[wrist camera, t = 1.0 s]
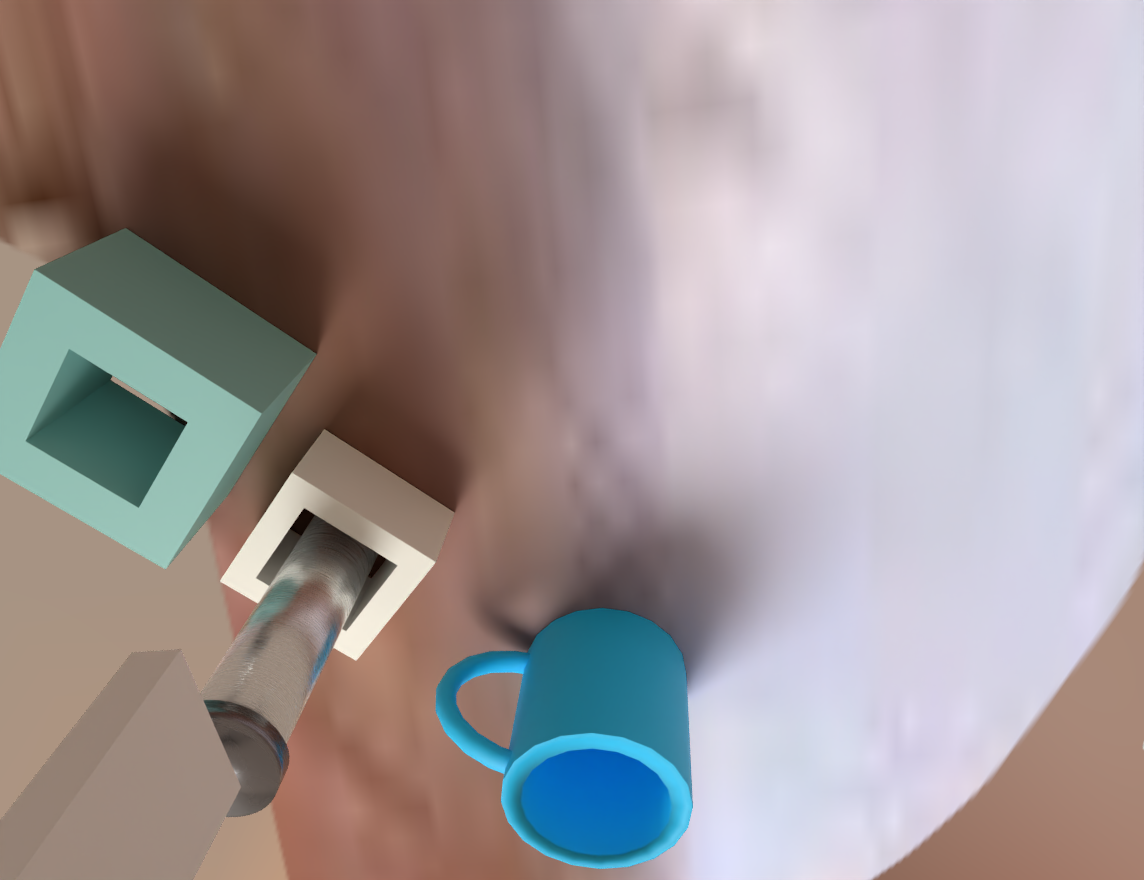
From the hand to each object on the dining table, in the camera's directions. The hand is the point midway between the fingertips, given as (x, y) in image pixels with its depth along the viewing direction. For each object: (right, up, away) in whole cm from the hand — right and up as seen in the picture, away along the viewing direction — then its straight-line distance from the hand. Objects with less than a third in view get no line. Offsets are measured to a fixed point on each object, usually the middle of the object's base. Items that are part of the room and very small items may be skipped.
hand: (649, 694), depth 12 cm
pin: (-11, 0, +30) cm, 32 cm away
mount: (-11, 0, +30) cm, 32 cm away
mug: (-1, -8, +33) cm, 34 cm away
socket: (-18, +7, +27) cm, 33 cm away
